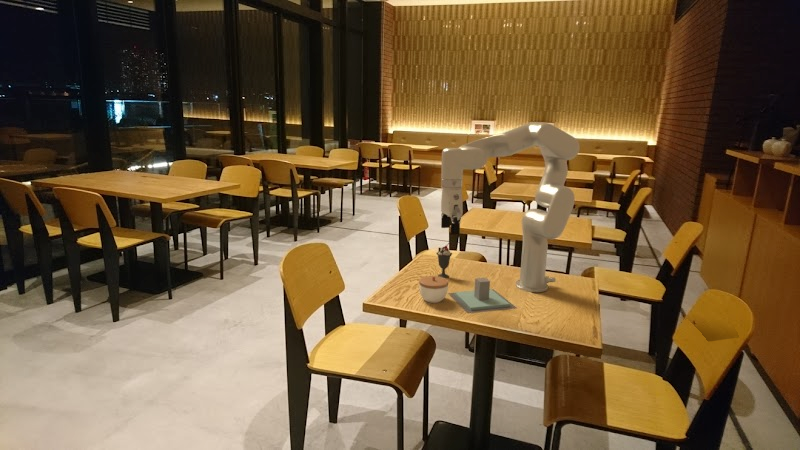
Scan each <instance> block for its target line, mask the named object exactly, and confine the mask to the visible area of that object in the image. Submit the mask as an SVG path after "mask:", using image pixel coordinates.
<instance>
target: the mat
mask: <svg viewBox="0 0 800 450" xmlns="http://www.w3.org/2000/svg"><path fill="white" fill-rule="evenodd" d="M491 289H492V288H491ZM492 290H493V291H494V292H495V293H497V294H498V295H499V296H501V297H502V298H503V299H504V300H506V301H507V302H508V303H509V304H510V306H509V307H500V308H490V309H480V310H470V309H469V308H468V307H467V306H466V305H465V304H464V303H463V302H462V301H461V300H460V299H459V298H458V297H456V296H455V292H447V295H449V296H450V297H451V298H452V300H454V301H455V302H456V303H457V305H459V306H460V307H461V309H463V310H464V311H465V312H466V314H475V313H484V312H493V311H496V312H497V311H504V310H513V309H514V310H516V309H518V307H517V306H515V304H513V303H512V302H510V301H509V300H508V299H506V297H504V296H503V295H502V294H500V293H499V292H498V291H497V290H495V289H492Z"/></svg>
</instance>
